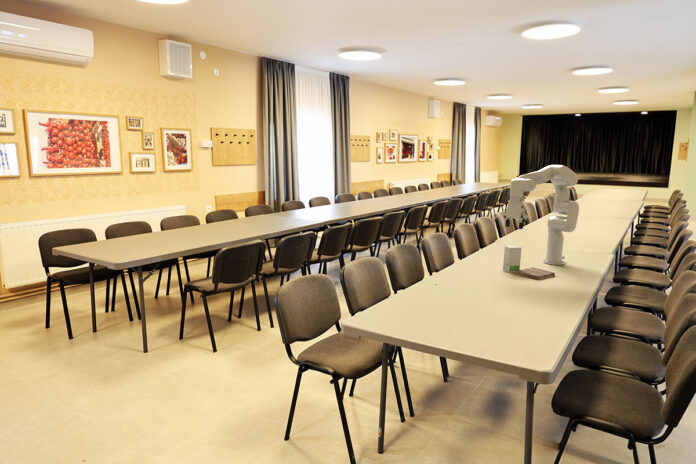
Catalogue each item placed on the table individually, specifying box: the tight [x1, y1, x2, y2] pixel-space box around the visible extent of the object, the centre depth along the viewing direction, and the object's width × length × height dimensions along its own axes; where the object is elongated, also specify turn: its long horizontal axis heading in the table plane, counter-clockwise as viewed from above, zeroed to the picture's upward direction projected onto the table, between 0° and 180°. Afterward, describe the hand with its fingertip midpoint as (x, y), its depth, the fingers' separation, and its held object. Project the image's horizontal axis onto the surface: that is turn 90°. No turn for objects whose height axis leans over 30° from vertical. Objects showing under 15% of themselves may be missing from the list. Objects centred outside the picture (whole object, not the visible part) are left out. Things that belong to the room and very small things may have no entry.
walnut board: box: [514, 267, 556, 281], centre depth 274 cm, size 17×15×2 cm
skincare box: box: [502, 245, 522, 273], centre depth 281 cm, size 8×7×16 cm
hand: (514, 227), depth 278 cm, fingers open, 9 cm apart
